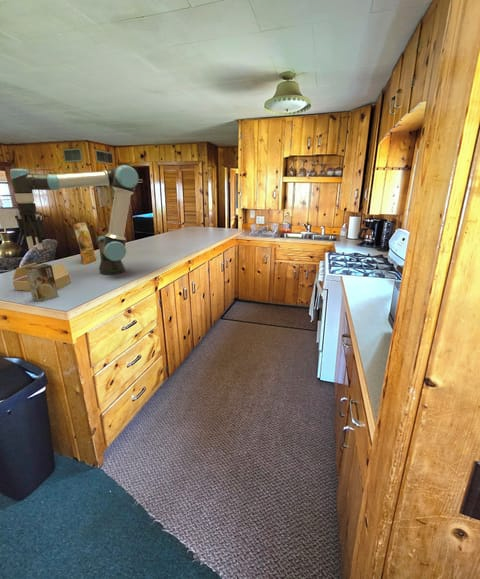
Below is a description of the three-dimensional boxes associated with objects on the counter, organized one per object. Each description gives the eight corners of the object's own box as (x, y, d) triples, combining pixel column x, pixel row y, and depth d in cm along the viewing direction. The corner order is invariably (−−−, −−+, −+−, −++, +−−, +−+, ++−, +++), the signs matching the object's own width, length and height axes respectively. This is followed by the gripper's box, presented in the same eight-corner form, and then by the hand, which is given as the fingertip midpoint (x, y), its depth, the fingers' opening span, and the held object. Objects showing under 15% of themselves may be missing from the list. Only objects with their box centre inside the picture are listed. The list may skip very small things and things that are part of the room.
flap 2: (51, 281, 151) (43, 269, 149) (68, 274, 163) (60, 263, 162) (52, 281, 150) (43, 269, 149) (69, 273, 163) (61, 263, 162)
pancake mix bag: (75, 265, 204) (68, 224, 195) (90, 258, 222) (84, 221, 213) (85, 265, 204) (78, 224, 195) (99, 259, 222) (93, 221, 213)
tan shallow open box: (71, 282, 167) (70, 273, 165) (51, 292, 151) (49, 282, 149) (37, 281, 168) (35, 272, 167) (14, 290, 153) (11, 281, 151)
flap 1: (33, 272, 165) (36, 262, 163) (13, 279, 152) (16, 268, 150) (32, 272, 165) (36, 262, 163) (12, 279, 152) (16, 268, 150)
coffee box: (51, 294, 149) (45, 263, 144) (58, 296, 146) (52, 265, 140) (32, 299, 141) (24, 267, 136) (38, 302, 138) (31, 269, 133)
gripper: (47, 202, 148) (56, 248, 156) (15, 201, 150) (26, 247, 157) (36, 203, 141) (46, 251, 149) (3, 202, 143) (14, 250, 150)
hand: (36, 249), depth 153 cm, fingers open, 4 cm apart
